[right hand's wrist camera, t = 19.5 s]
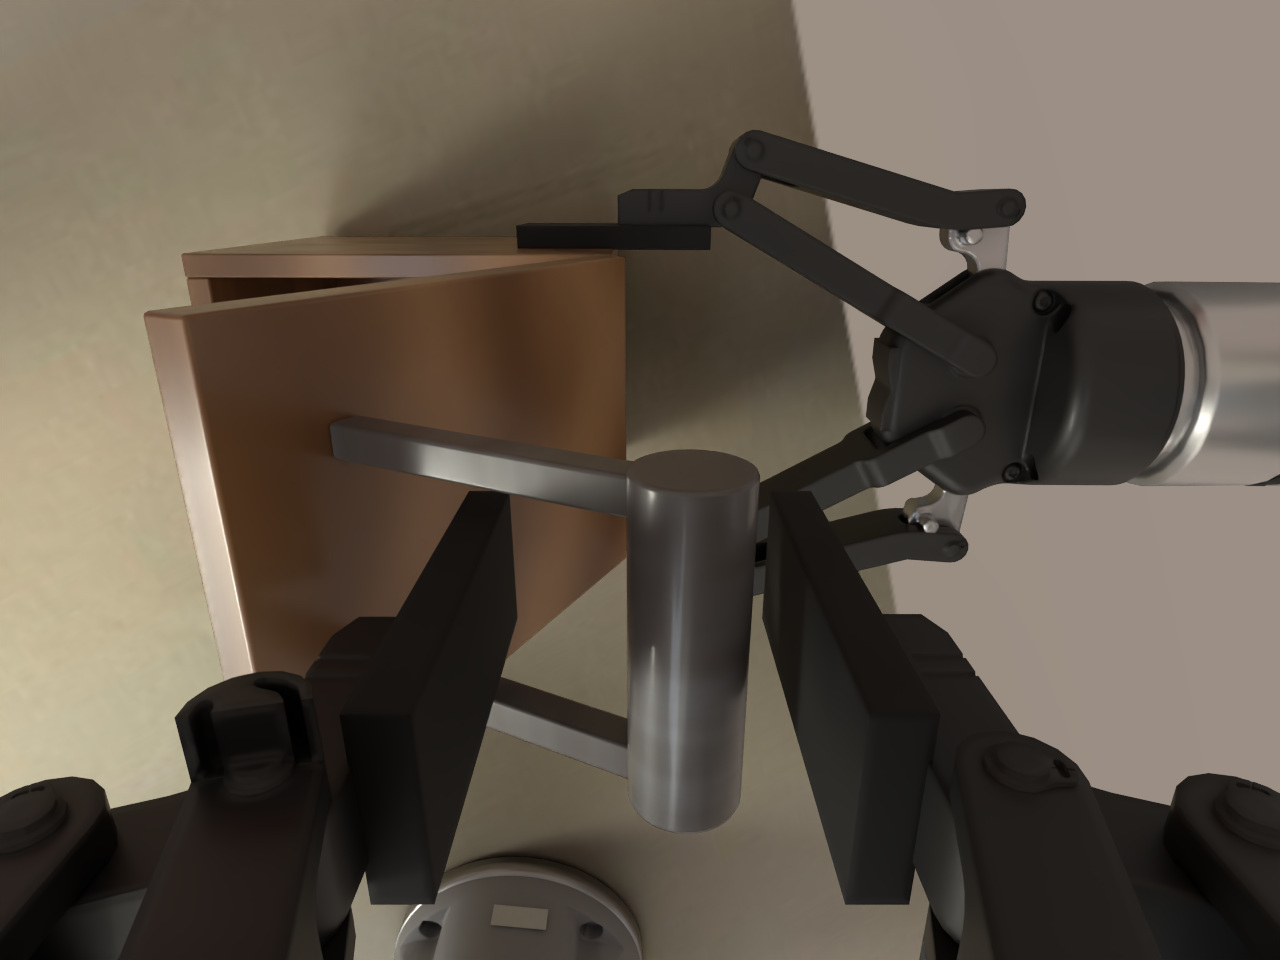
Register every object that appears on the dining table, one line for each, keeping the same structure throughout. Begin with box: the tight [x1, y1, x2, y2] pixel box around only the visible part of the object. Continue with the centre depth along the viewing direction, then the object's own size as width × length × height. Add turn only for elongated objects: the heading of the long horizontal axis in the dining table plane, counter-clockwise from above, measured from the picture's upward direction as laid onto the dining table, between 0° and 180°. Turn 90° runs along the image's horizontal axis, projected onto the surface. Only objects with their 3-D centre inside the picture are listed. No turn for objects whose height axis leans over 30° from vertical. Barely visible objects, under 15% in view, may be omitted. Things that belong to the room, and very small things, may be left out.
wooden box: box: [182, 236, 618, 306], centre depth 30 cm, size 13×10×11 cm
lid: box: [144, 255, 760, 834], centre depth 17 cm, size 14×10×9 cm
